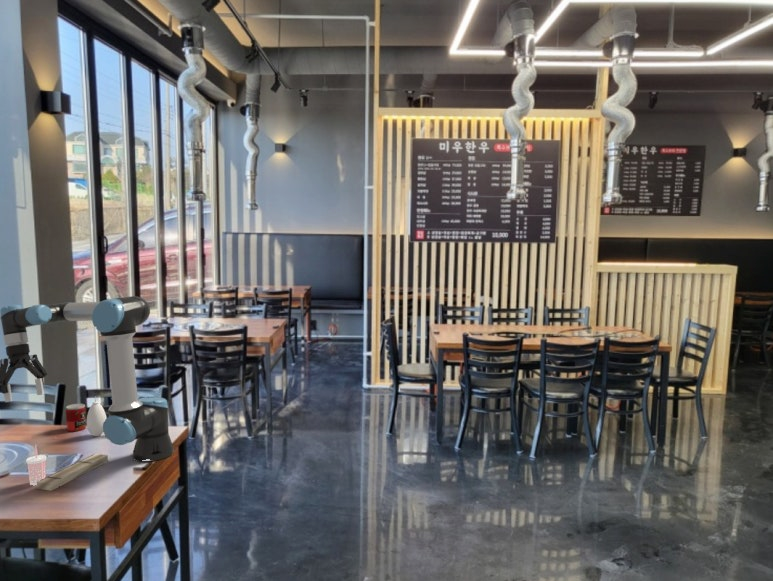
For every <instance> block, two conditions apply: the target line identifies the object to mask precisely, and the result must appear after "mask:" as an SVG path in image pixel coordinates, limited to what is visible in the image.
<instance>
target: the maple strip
mask: <svg viewBox="0 0 773 581" xmlns="http://www.w3.org/2000/svg"><path fill="white" fill-rule="evenodd" d="M107 461H108V462H109V457H108V454H102V453H101V454H100V453H93V454H91V455H89V456H87V457H85V458H82V459H81V460H79V461H77V462H75V463H73V464H70V465H69V466H66V467H65V468H63V469H61V470H60V469H59V471H56V472H54V473H52V474H50V475H48V476H45V478H44V479H42V480H40V481H38V482H37V485H36V489H37V490H42V491H50V492H51V491H53V490H56V489H57V488H60V487H62V486H63V485H65V484H66V483H69V482H71V481H73V480H75V479H77V478H78V477H81V476H83V475H84V474H86V473H89V472H90V471H92V470H94V469H96V468H98V467H100V466H102V465H104V464H106V463H108V462H107ZM105 462H106V463H105ZM103 463H104V464H103ZM59 486H60V487H59Z"/></svg>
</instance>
